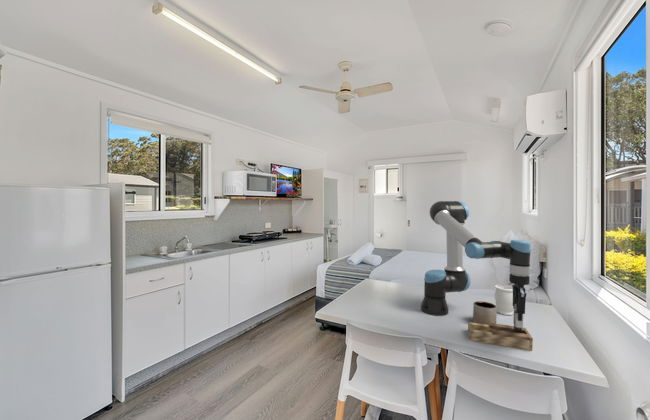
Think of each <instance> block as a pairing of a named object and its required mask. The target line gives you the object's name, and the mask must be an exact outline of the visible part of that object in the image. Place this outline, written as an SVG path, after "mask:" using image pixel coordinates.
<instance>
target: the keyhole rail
mask: <svg viewBox="0 0 650 420" xmlns="http://www.w3.org/2000/svg"><path fill="white" fill-rule="evenodd" d="M467 324H468V325H467V331H468V335H469V339H470V341H472V342H473V341H474V342H479V343H485V344H492V345H498V346H503V347H510V348H517V349H520V350H521V349H522V350H527V351H533V346H534V344H533V343H534V342H533V336H532V335H531V334H530V332H529V330H528V329H527V327H523V328H522V333H516V332H514V325H510V324H509V325H508V324H503V323H502V324H501V323H497V322H496V323H489V325H486V324H479V323H476V322H471V321H468V322H467Z"/></svg>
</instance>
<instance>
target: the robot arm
mask: <svg viewBox="0 0 650 420" xmlns="http://www.w3.org/2000/svg"><path fill="white" fill-rule="evenodd" d="M429 217H430V218H431V220H432V221H433V222H434V223H435V224H437V225H438V226H441V227H442V228H443V229H444V230H445V232H446V234H445V235H446V266H445V267H444V270H443V269H430V270H427V271H426V272H425V273H424V278H423V279H424V285H423V287H424V291H423V292H424V294H423V295H424V296H423V299H422V302H421V304H420V309H421V311H422V312H423V313H425V314H428V315H432V316H446V315H448V314H449V305H448V303H447V299H446V294H447V293H460V292H465V291H467V290H468V289H469V288H470V285H471V276H470V275H469V273H468V272H467V270H466V268H465V267H464V266H463V264H464V263H463V262H464V261H463V248H464V253H465V255H466V257H468V258H469V259H476V260H479V259H496V258H497V259H498V258H502V259H507V260H509V282H510V283H511V284H512V285H511V287H513V304H512V305H513V306H515V304H516V307H517V311H515V313H516V320H515V327H519V328H524V315H525V313H526V298H527V292H526V287H525V286H528V285H530V280H531V279H530V276H529V275H530V273H531V270H532V268H531V252H532V251H531V243H530V241H528V240H524V239H523V240H522V239H512V240H510V242H506V241H505V242H504V241H500V240H490V241H487V242H485V241H482V240H480V239H479V238H478V237H477V236H476V235H475V234H473V233H472V232H471V231H470V230H468V229H467V228H466V227H465V226H464V225H465V224H466V223H465V221H466V220H467V219H468V217H470V210H469V207H468V205H467V204H466V203H465V202H463V201H459V200H453V201H452V200H450V201H448V200H447V201H446V200H439V201H436V202H434V203H433V204H432V205H431V207H430V208H429ZM513 308H514V307H513ZM513 324H514V317H513Z"/></svg>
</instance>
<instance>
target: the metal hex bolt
mask: <svg viewBox="0 0 650 420" xmlns="http://www.w3.org/2000/svg"><path fill="white" fill-rule="evenodd" d="M515 311H517V307H516V304H515V306H514V310H513V318H514V323H513V326H514V332H516V333H522V328H519V327H515V320H516V313H515Z"/></svg>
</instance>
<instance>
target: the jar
mask: <svg viewBox="0 0 650 420" xmlns="http://www.w3.org/2000/svg"><path fill="white" fill-rule="evenodd" d="M494 288H495V290H494V291H495V292H494V301H495V302H494V303H495V305H496V307H497V308H496V313H498V314H500V315H505V316H514V308H513V307H514V306H513V305H512V304H513V287H512V285H505V284H496V285H494Z"/></svg>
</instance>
